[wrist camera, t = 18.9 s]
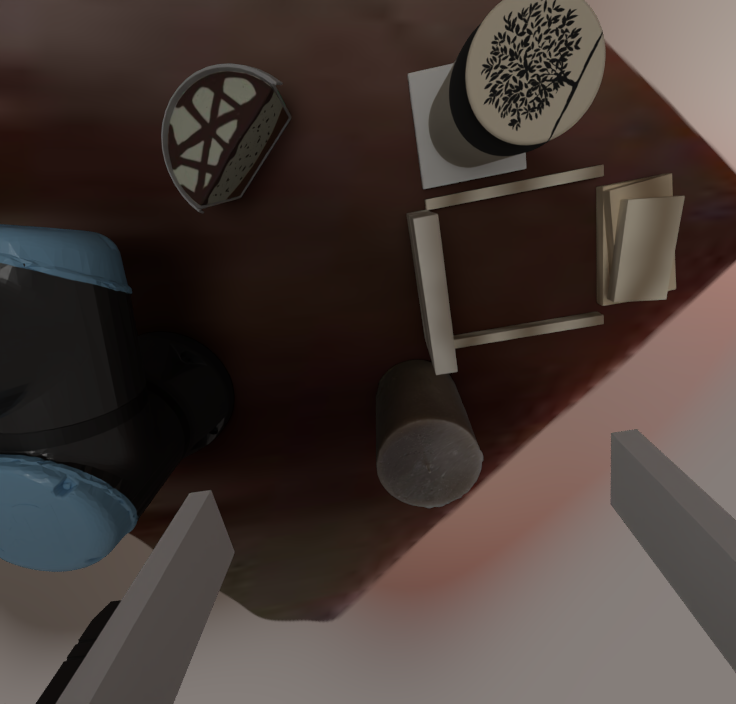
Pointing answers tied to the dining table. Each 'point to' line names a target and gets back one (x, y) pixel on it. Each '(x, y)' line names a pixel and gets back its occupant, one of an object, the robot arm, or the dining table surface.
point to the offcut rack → (614, 256)
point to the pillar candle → (424, 437)
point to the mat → (431, 163)
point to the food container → (221, 131)
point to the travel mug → (518, 81)
